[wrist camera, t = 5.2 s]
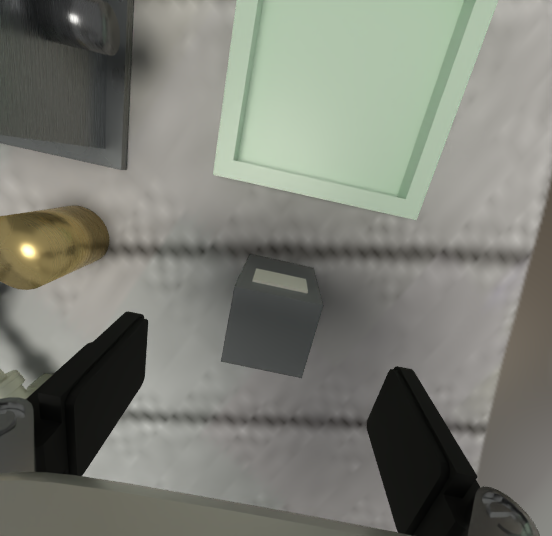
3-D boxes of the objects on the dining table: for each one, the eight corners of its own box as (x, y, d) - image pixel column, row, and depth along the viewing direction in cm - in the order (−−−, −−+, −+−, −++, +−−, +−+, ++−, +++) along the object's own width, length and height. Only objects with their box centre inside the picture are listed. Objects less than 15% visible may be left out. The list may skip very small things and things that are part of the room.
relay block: (297, 323, 21) (301, 378, 16) (238, 310, 21) (220, 361, 15) (313, 265, 20) (324, 302, 14) (250, 251, 20) (235, 283, 14)
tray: (403, 215, 18) (416, 220, 17) (220, 174, 18) (213, 174, 16) (484, -14, 15) (514, -42, 13) (256, -72, 14) (251, -110, 12)
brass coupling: (108, 267, 20) (54, 296, 16) (52, 256, 20) (-19, 281, 16) (109, 212, 19) (51, 225, 14) (50, 199, 19) (-29, 208, 14)
